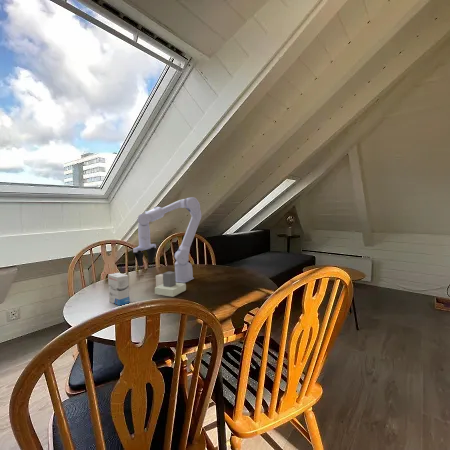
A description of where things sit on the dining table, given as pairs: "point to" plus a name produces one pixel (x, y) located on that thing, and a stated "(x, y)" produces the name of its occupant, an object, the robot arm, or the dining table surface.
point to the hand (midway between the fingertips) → (145, 264)
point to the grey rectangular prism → (169, 279)
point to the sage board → (170, 289)
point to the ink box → (118, 288)
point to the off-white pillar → (159, 280)
